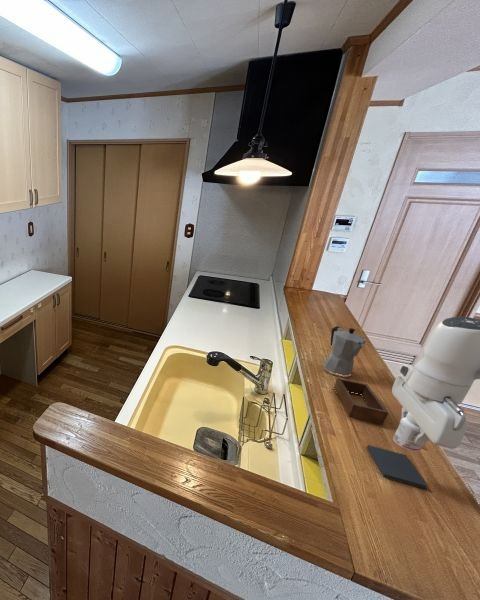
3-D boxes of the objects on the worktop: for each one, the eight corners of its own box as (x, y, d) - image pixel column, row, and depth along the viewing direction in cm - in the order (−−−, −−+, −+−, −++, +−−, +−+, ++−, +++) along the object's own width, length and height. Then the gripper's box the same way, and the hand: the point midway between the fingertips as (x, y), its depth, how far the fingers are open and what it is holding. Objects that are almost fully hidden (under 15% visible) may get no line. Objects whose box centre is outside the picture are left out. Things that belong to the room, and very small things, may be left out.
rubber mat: (404, 457, 84) (405, 454, 83) (425, 489, 75) (427, 486, 75) (366, 447, 86) (368, 444, 86) (383, 476, 78) (384, 473, 77)
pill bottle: (423, 449, 77) (439, 420, 74) (412, 454, 75) (428, 425, 72) (399, 435, 81) (413, 407, 78) (388, 439, 79) (401, 411, 76)
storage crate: (362, 395, 109) (367, 384, 107) (383, 425, 95) (388, 412, 94) (333, 388, 112) (337, 377, 110) (348, 416, 98) (353, 404, 96)
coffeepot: (361, 382, 116) (380, 338, 110) (334, 380, 117) (351, 335, 111) (334, 360, 130) (349, 319, 124) (310, 358, 131) (323, 317, 125)
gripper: (489, 419, 62) (456, 472, 67) (429, 367, 80) (406, 412, 85) (446, 409, 64) (417, 462, 69) (397, 361, 82) (377, 405, 87)
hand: (411, 434), depth 77 cm, fingers closed on pill bottle, 5 cm apart
